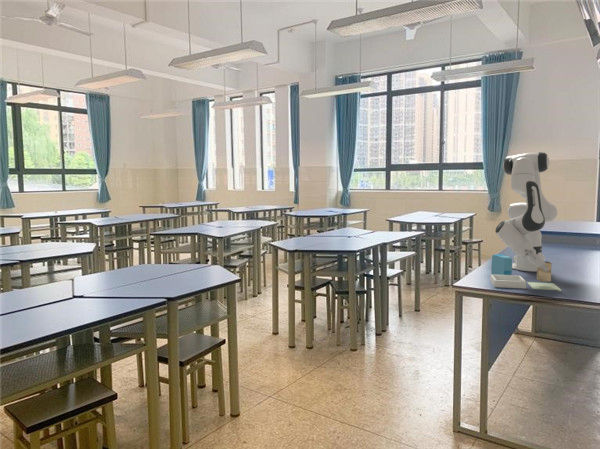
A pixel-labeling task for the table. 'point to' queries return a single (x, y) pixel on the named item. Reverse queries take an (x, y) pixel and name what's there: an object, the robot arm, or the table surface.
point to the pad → (544, 286)
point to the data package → (501, 265)
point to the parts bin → (507, 281)
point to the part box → (542, 274)
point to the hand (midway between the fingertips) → (545, 269)
